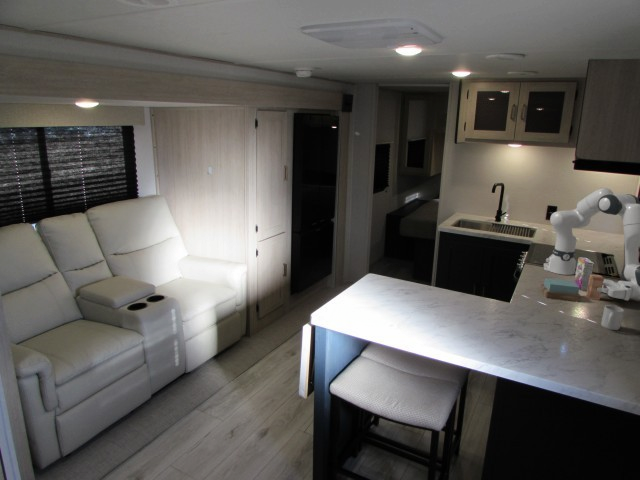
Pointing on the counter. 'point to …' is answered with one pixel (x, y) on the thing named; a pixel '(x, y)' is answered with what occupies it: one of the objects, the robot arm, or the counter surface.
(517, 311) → the counter surface
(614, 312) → the cup
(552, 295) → the block
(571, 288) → the tower top
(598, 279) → the terracotta block
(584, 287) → the candy bar box
